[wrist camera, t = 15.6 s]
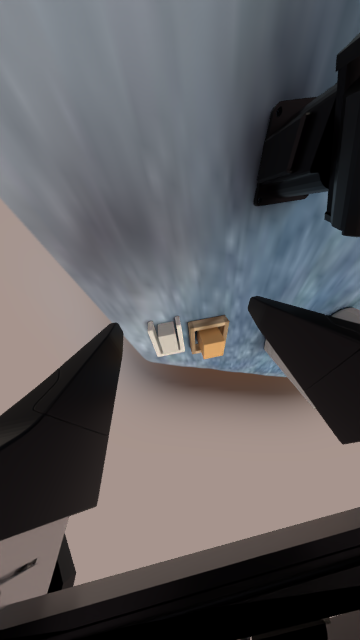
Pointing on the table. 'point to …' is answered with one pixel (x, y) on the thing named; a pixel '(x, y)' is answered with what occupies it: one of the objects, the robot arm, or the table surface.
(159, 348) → the clip
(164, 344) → the block
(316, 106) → the robot arm
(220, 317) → the holder
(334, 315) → the water bottle
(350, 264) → the table surface
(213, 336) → the orange block
